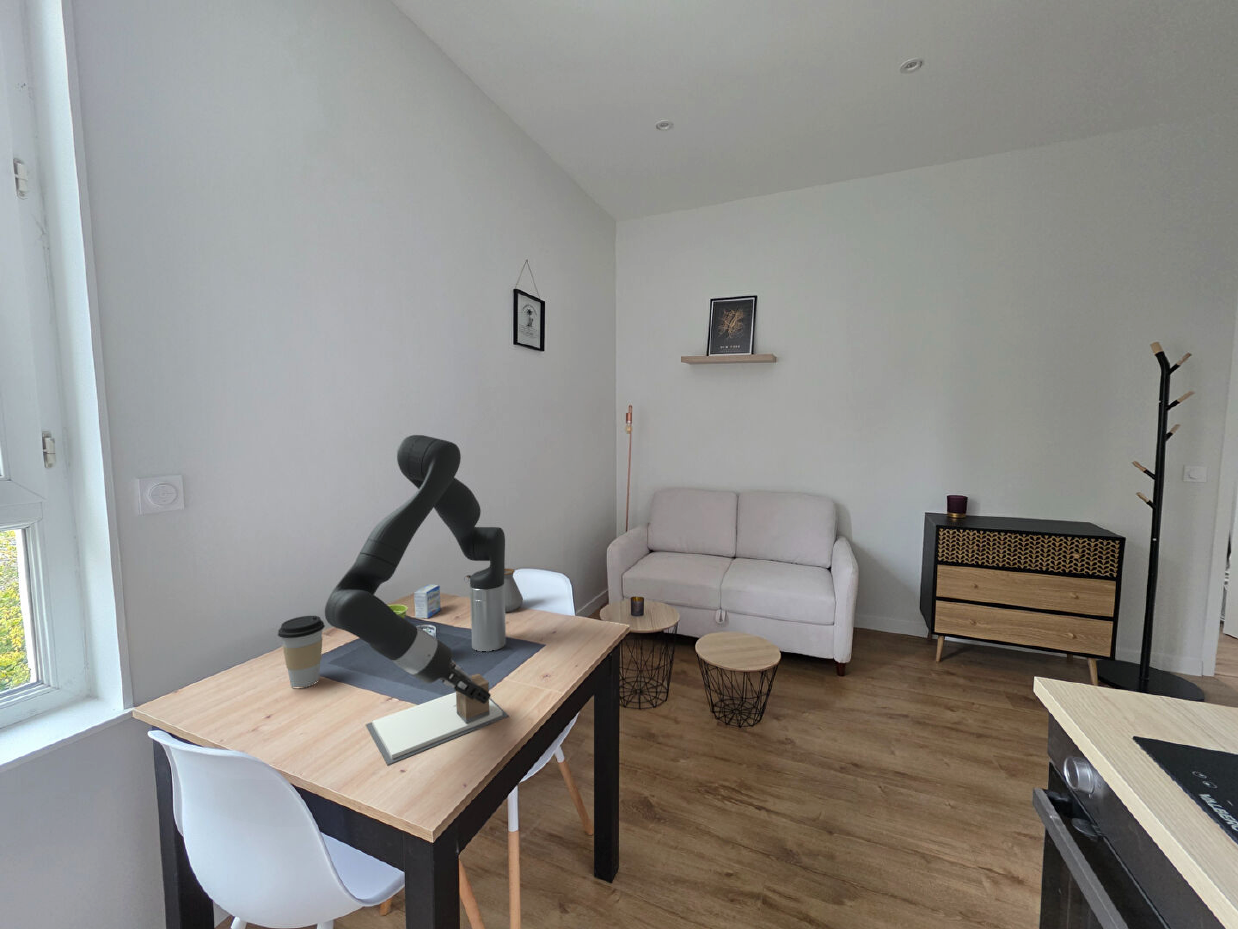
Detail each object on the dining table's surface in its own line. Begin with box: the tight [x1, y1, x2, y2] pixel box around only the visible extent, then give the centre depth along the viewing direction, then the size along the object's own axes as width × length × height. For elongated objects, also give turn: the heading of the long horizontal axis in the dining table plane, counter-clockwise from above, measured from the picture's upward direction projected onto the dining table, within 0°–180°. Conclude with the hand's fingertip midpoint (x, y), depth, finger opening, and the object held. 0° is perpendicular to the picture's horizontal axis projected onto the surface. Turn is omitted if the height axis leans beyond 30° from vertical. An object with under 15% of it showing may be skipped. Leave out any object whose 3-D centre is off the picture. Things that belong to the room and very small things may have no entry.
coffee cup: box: [277, 615, 325, 688], centre depth 120 cm, size 9×9×15 cm
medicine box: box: [413, 584, 441, 620], centre depth 164 cm, size 8×4×9 cm, turn 168°
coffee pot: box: [463, 568, 524, 613], centre depth 165 cm, size 21×12×15 cm, turn 143°
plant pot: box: [388, 604, 408, 619], centre depth 145 cm, size 9×9×9 cm
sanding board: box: [365, 691, 510, 766], centre depth 104 cm, size 16×24×1 cm, turn 129°
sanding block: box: [455, 673, 490, 724], centre depth 105 cm, size 5×5×7 cm
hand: (481, 693), depth 106 cm, fingers closed on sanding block, 5 cm apart
